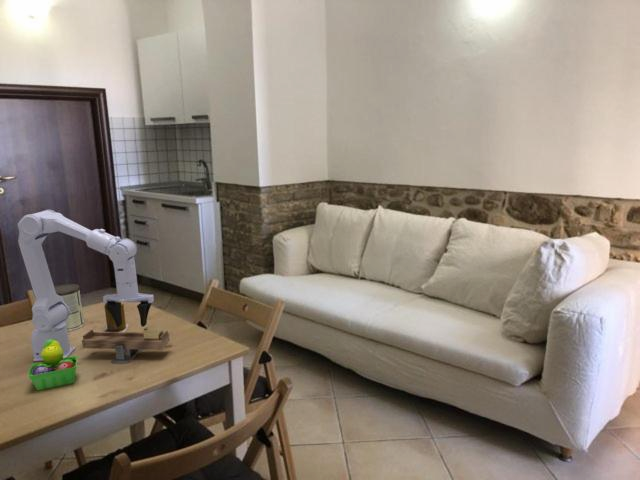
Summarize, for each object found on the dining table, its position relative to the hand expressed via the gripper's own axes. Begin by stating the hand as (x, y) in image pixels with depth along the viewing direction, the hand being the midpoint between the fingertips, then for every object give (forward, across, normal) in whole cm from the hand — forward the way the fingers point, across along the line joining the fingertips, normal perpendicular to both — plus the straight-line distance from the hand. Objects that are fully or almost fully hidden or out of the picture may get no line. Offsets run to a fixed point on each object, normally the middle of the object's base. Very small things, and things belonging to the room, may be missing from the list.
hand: (131, 325), depth 148 cm
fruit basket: (+10, -15, -16) cm, 24 cm away
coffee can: (+10, -35, +23) cm, 43 cm away
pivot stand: (+10, -2, 0) cm, 10 cm away
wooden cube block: (+5, +7, 0) cm, 8 cm away
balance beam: (+6, -2, 0) cm, 7 cm away
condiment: (+10, -16, +20) cm, 27 cm away
